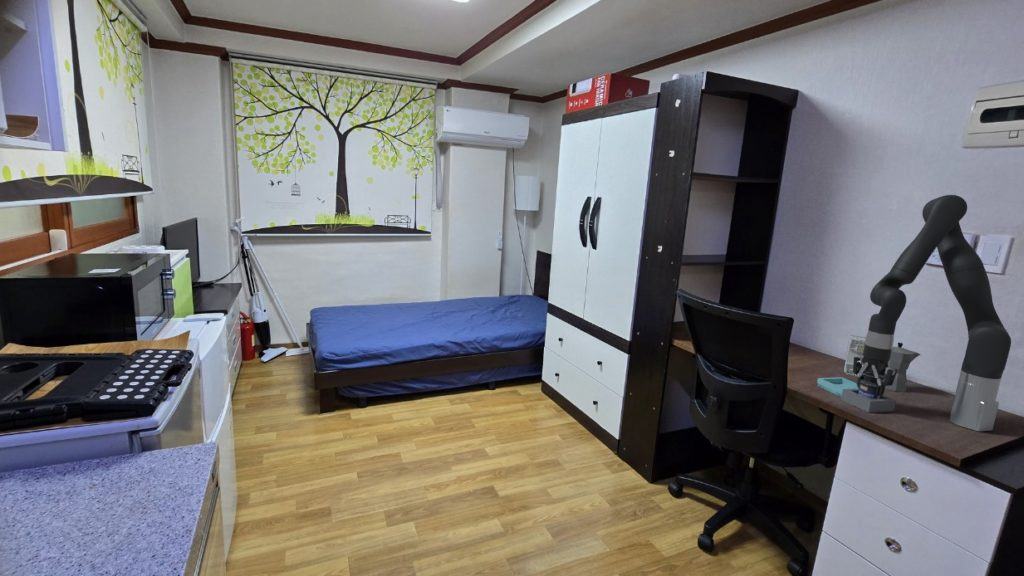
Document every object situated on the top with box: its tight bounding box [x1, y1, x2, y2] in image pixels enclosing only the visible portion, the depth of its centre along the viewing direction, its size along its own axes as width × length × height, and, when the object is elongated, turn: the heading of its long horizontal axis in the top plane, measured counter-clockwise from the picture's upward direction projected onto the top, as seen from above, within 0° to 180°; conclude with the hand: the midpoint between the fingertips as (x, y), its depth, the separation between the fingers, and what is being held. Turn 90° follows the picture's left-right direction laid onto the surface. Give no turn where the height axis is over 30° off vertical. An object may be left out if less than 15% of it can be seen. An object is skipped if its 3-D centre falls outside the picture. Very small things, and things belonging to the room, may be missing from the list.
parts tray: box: [816, 376, 858, 398], centre depth 178 cm, size 11×11×3 cm
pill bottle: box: [858, 373, 880, 399], centre depth 164 cm, size 6×6×11 cm
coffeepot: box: [881, 342, 921, 393], centre depth 183 cm, size 15×9×18 cm, turn 67°
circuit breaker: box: [843, 334, 866, 377], centre depth 200 cm, size 8×14×15 cm, turn 146°
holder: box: [840, 388, 897, 414], centre depth 165 cm, size 10×10×4 cm
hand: (869, 391), depth 165 cm, fingers closed on pill bottle, 6 cm apart
